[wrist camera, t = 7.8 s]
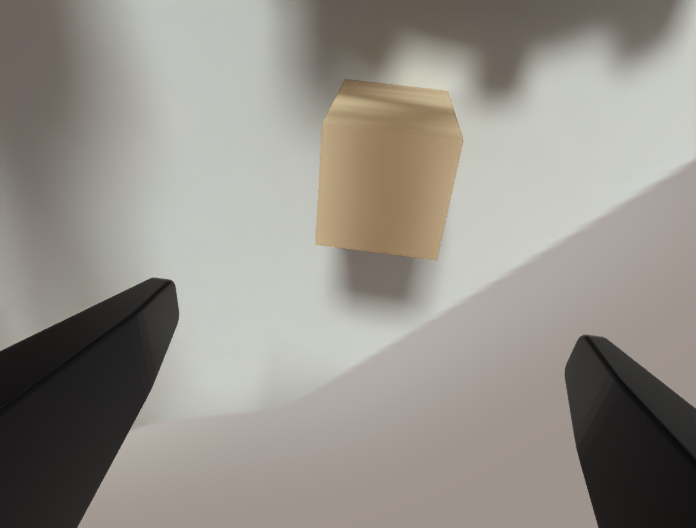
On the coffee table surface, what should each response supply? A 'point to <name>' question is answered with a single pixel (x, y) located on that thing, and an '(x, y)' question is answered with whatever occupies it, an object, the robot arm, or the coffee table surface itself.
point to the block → (387, 169)
